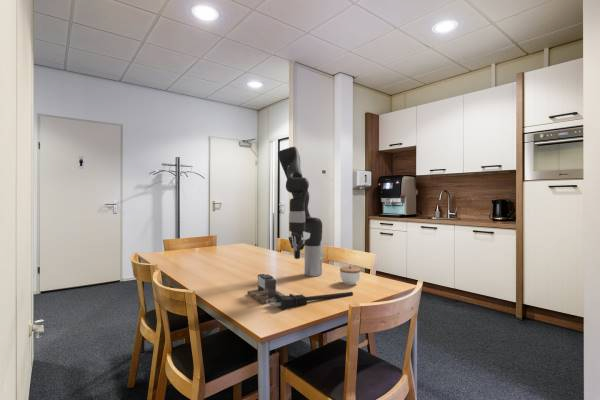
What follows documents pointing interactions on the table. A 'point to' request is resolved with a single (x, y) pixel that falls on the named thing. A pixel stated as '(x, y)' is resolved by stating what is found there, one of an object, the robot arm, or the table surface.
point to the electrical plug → (301, 299)
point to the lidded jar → (350, 274)
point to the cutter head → (264, 281)
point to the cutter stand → (263, 296)
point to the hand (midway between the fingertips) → (297, 258)
